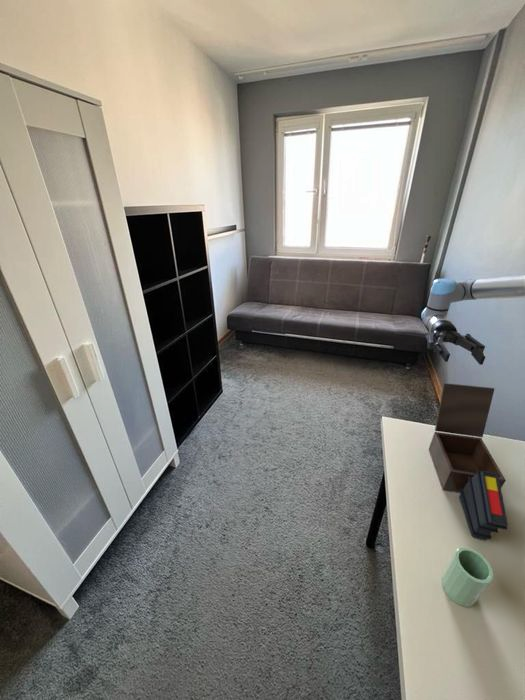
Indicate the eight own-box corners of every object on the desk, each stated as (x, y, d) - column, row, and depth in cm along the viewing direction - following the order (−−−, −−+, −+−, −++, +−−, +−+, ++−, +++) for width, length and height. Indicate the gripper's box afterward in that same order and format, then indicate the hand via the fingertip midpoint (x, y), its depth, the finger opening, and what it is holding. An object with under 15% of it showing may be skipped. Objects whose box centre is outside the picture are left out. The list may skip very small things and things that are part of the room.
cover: (494, 388, 79) (493, 387, 79) (445, 383, 82) (444, 382, 82) (482, 437, 82) (481, 436, 83) (435, 431, 85) (434, 429, 86)
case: (494, 499, 74) (506, 480, 71) (442, 490, 77) (450, 471, 74) (472, 456, 87) (481, 437, 83) (428, 449, 90) (434, 431, 86)
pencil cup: (468, 575, 60) (484, 551, 55) (480, 611, 55) (499, 587, 50) (437, 568, 61) (450, 543, 56) (446, 602, 56) (461, 578, 51)
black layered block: (470, 485, 76) (499, 472, 64) (479, 541, 69) (512, 538, 57) (455, 482, 77) (480, 468, 65) (461, 537, 70) (491, 533, 58)
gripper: (471, 340, 103) (501, 373, 84) (408, 335, 108) (422, 366, 88) (478, 321, 99) (511, 351, 80) (412, 317, 104) (428, 345, 85)
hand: (464, 359), depth 84 cm, fingers open, 9 cm apart
